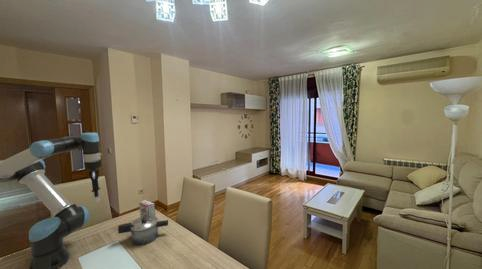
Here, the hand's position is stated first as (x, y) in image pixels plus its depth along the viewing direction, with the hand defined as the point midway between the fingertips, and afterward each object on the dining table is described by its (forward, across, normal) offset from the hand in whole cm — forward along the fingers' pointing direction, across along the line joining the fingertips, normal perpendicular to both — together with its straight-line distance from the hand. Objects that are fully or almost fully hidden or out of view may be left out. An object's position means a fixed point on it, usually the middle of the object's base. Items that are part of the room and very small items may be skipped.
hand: (97, 201), depth 109 cm
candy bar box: (+30, +11, -26) cm, 41 cm away
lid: (+20, -3, -19) cm, 28 cm away
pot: (+29, -4, -22) cm, 37 cm away
